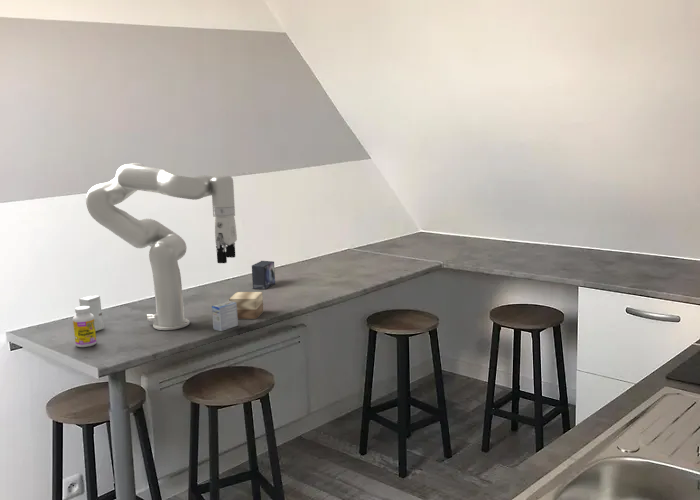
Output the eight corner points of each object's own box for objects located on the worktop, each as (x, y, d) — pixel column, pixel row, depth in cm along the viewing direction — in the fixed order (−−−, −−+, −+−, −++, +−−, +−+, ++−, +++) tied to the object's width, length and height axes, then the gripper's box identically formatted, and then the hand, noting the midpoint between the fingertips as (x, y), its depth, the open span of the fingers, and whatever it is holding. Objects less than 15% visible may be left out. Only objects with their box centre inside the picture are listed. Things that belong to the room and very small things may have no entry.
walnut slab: (230, 319, 263) (229, 309, 262) (238, 312, 272) (237, 302, 271) (256, 320, 261) (255, 309, 260) (263, 312, 271) (262, 302, 270)
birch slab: (229, 309, 262) (229, 298, 261) (237, 302, 272) (236, 292, 271) (256, 309, 260) (255, 298, 260) (262, 302, 270) (262, 292, 269)
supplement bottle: (76, 349, 234) (72, 311, 231) (74, 343, 240) (70, 306, 237) (98, 345, 237) (93, 308, 234) (95, 340, 243) (91, 303, 240)
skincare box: (90, 333, 251) (87, 300, 249) (81, 331, 253) (78, 298, 251) (104, 328, 256) (100, 295, 254) (95, 327, 258) (91, 294, 256)
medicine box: (230, 323, 256) (228, 300, 254) (238, 325, 253) (236, 302, 251) (213, 329, 250) (211, 305, 248) (221, 331, 247) (219, 307, 245)
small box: (265, 289, 304) (264, 265, 302) (252, 289, 306) (250, 265, 304) (276, 284, 314) (274, 260, 312) (262, 283, 316) (261, 260, 314)
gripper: (226, 215, 237) (229, 265, 241) (241, 208, 254) (244, 255, 257) (204, 215, 239) (208, 265, 242) (221, 208, 255) (224, 255, 259)
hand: (226, 260), depth 250 cm, fingers open, 9 cm apart
